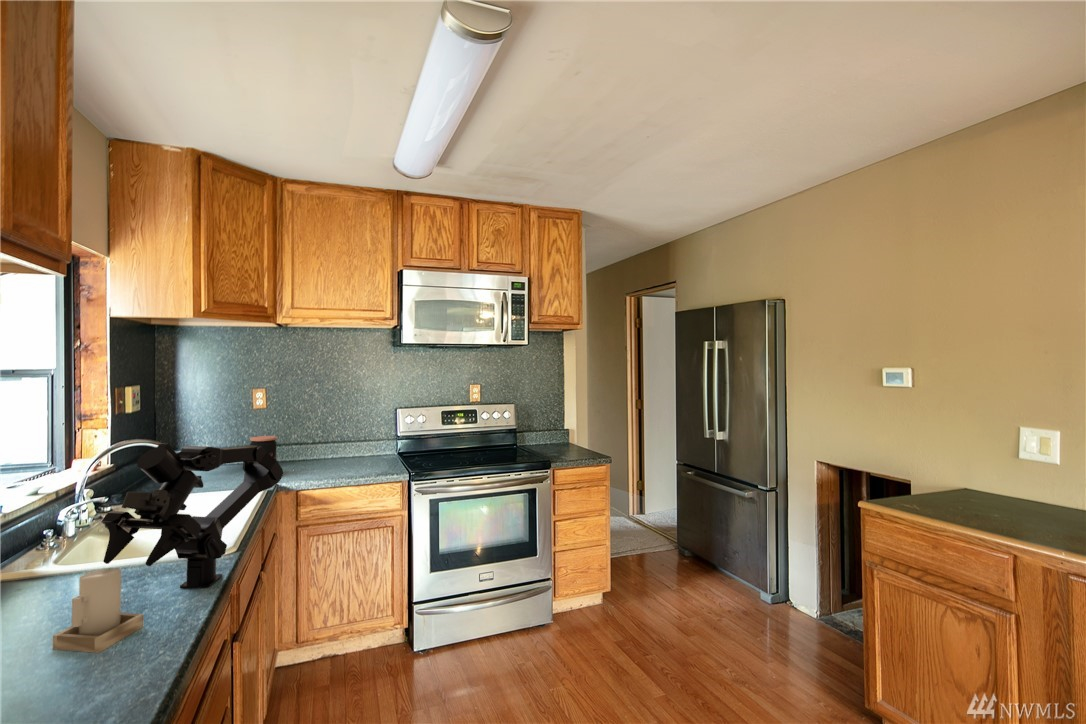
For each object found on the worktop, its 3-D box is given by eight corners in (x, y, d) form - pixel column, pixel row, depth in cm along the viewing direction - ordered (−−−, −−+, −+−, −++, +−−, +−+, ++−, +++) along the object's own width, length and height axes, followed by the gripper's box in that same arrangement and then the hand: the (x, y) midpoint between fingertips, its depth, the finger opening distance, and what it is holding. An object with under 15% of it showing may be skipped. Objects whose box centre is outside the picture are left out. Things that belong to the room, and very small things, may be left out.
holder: (101, 624, 103) (101, 611, 103) (143, 627, 102) (143, 614, 102) (52, 649, 94) (52, 635, 94) (98, 652, 93) (98, 638, 93)
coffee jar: (268, 479, 231) (268, 439, 231) (244, 479, 231) (245, 439, 231) (280, 474, 242) (281, 436, 242) (258, 474, 242) (258, 435, 242)
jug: (100, 628, 101) (101, 567, 101) (128, 630, 101) (129, 569, 101) (59, 650, 94) (60, 584, 94) (89, 653, 93) (90, 586, 93)
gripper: (110, 473, 110) (55, 543, 99) (191, 476, 108) (144, 547, 97) (142, 500, 118) (94, 568, 107) (218, 503, 116) (177, 573, 105)
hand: (126, 564), depth 103 cm, fingers open, 9 cm apart
